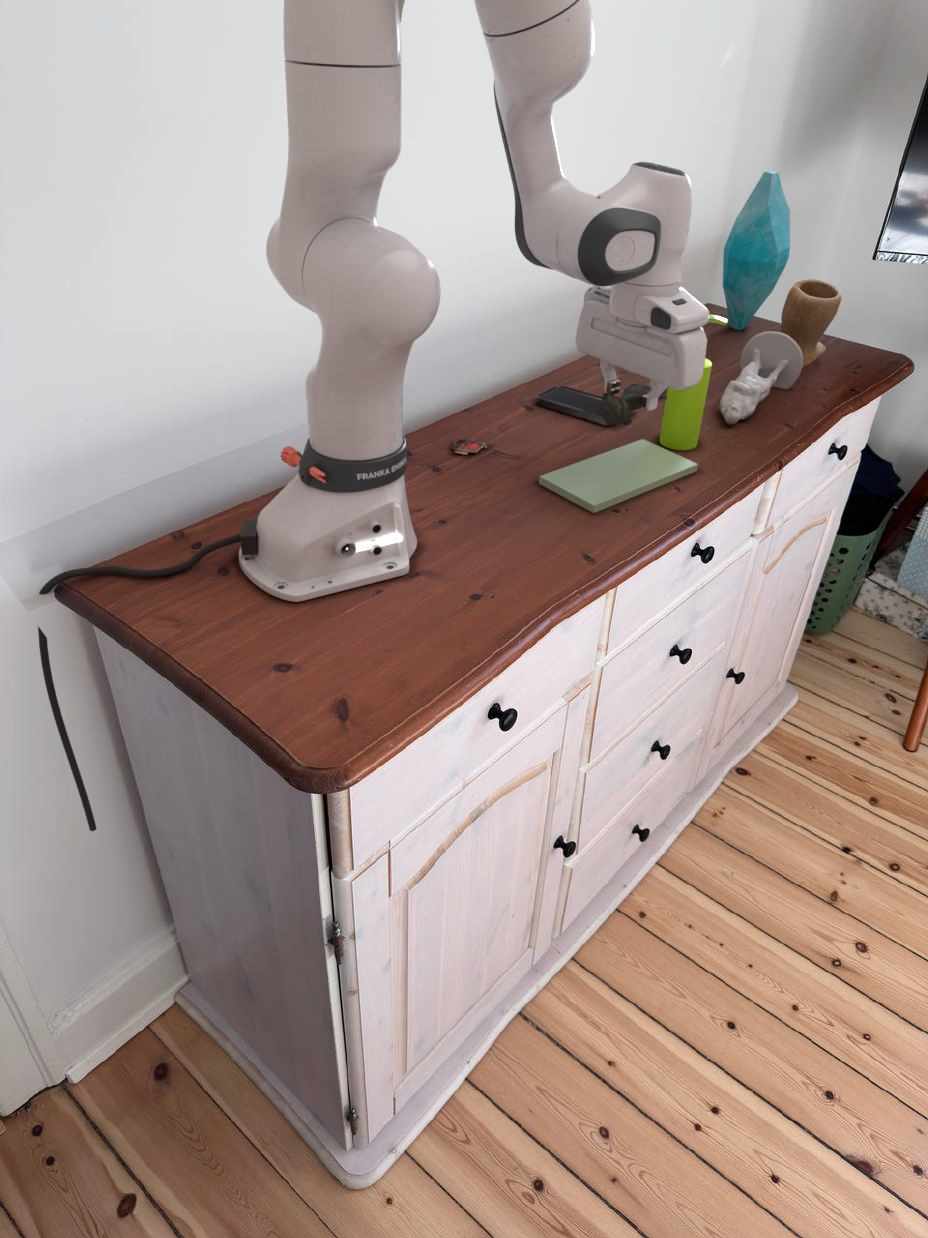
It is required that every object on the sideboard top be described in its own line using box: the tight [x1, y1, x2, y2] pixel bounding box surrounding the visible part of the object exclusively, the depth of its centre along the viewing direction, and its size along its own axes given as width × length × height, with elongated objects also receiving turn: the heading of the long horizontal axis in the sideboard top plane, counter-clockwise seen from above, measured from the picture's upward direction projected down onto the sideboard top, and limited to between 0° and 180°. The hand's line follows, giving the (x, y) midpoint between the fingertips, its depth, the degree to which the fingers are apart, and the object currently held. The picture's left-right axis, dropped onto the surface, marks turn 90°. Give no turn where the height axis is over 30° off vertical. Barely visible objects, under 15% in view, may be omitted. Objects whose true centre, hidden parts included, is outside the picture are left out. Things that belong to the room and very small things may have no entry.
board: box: [538, 438, 699, 514], centre depth 135 cm, size 22×11×1 cm, turn 129°
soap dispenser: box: [659, 313, 728, 451], centre depth 140 cm, size 6×7×20 cm
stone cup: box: [780, 278, 842, 368], centre depth 174 cm, size 15×12×15 cm
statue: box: [597, 382, 667, 426], centre depth 129 cm, size 6×6×20 cm
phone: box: [535, 385, 632, 427], centre depth 156 cm, size 8×1×15 cm
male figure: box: [719, 330, 803, 425], centre depth 158 cm, size 11×10×25 cm
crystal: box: [722, 170, 791, 331], centre depth 186 cm, size 12×14×30 cm
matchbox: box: [452, 439, 488, 455], centre depth 142 cm, size 5×5×1 cm
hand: (629, 400), depth 129 cm, fingers closed on statue, 5 cm apart
